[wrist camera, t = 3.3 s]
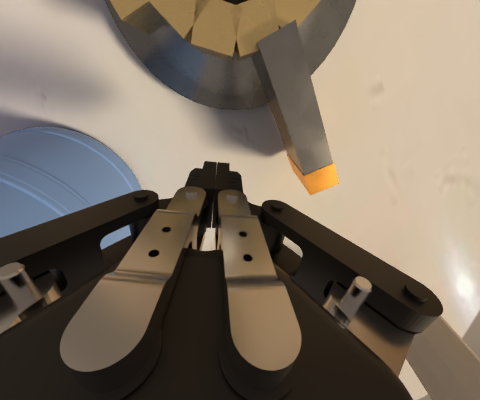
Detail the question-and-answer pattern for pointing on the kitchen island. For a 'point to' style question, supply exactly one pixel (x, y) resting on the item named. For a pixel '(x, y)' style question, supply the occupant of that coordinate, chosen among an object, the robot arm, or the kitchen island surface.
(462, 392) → the water bottle
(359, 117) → the kitchen island surface
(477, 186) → the kitchen island surface
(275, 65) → the segmented ring on plate
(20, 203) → the water jug
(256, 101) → the housing
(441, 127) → the kitchen island surface
